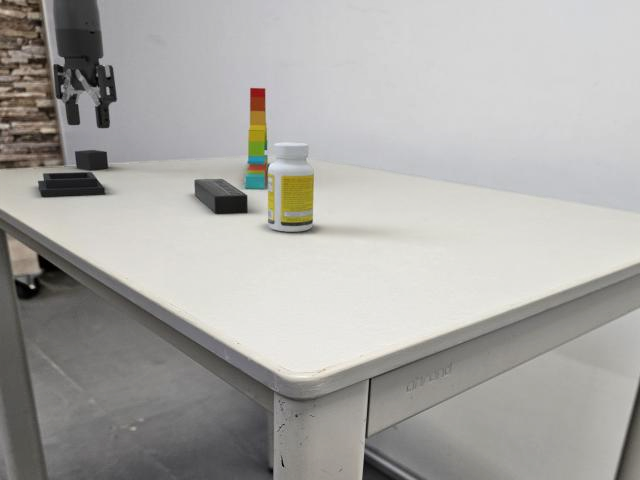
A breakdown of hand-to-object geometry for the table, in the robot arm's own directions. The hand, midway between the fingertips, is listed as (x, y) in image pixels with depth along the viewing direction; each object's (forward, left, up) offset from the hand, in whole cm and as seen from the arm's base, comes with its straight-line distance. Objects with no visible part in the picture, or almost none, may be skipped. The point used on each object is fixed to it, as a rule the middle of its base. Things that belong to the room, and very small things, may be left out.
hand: (88, 126), depth 114 cm
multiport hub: (+35, -22, -8) cm, 42 cm away
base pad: (+11, -22, -7) cm, 26 cm away
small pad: (0, 0, -7) cm, 7 cm away
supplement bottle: (+49, -33, -8) cm, 59 cm away
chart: (+30, +6, -8) cm, 32 cm away
